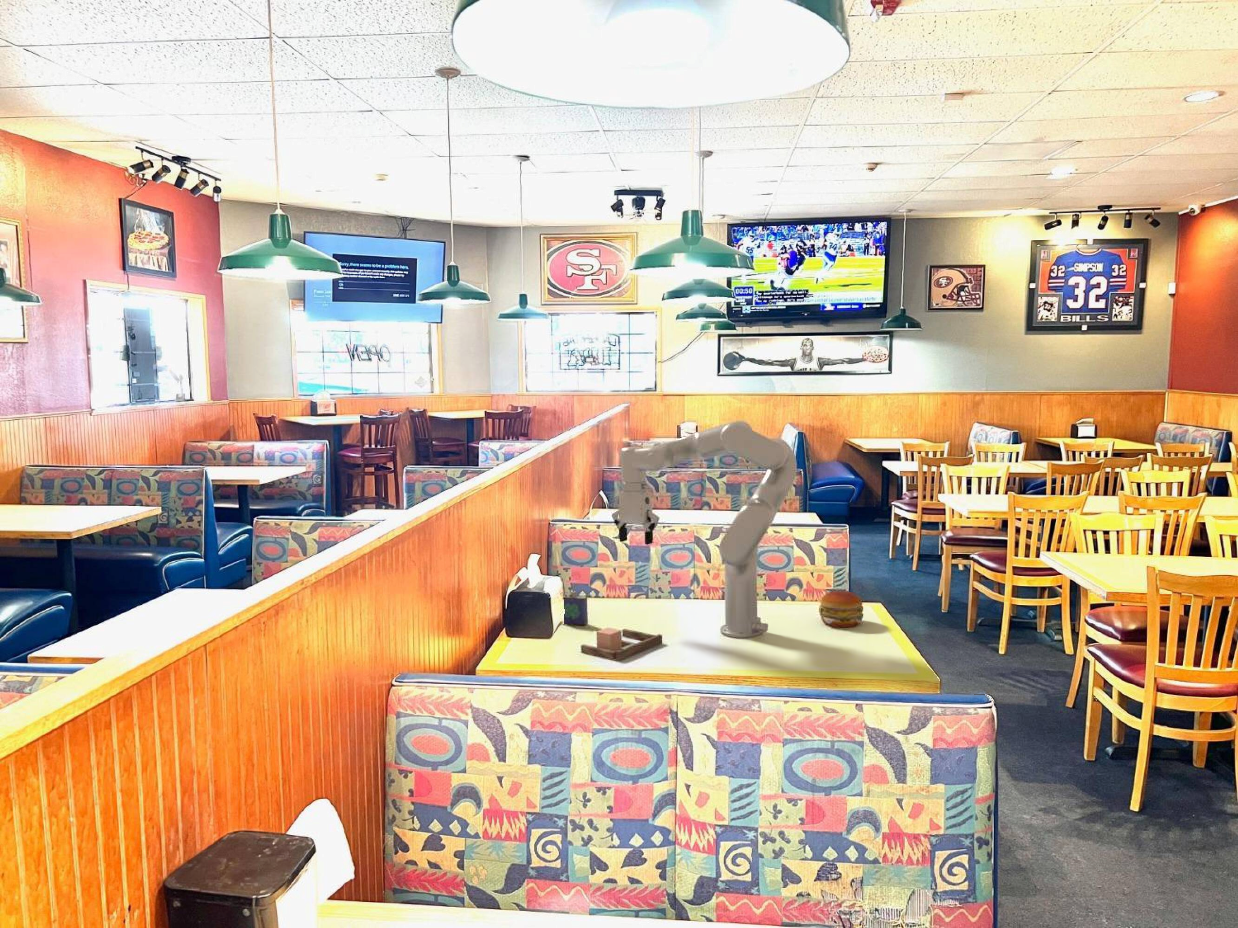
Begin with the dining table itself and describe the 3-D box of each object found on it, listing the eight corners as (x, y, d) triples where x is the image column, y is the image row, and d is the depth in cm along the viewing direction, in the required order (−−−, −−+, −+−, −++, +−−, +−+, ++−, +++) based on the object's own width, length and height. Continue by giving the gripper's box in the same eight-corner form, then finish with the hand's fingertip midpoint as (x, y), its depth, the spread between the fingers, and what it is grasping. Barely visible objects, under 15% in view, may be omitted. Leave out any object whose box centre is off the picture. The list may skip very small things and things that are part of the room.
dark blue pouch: (589, 624, 279) (588, 590, 278) (585, 626, 276) (584, 593, 275) (562, 621, 282) (561, 588, 281) (558, 624, 280) (557, 591, 279)
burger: (846, 632, 262) (846, 599, 261) (809, 623, 272) (809, 591, 271) (872, 623, 271) (872, 591, 270) (835, 614, 281) (835, 584, 280)
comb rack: (662, 643, 257) (662, 633, 257) (619, 661, 242) (618, 650, 242) (625, 635, 266) (624, 625, 265) (581, 652, 251) (580, 642, 251)
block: (621, 650, 251) (621, 630, 251) (610, 655, 247) (609, 634, 247) (608, 647, 254) (607, 627, 254) (597, 652, 251) (596, 631, 250)
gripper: (664, 486, 268) (666, 542, 270) (618, 484, 278) (621, 538, 280) (649, 490, 262) (652, 547, 264) (604, 487, 272) (606, 542, 274)
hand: (636, 542), depth 272 cm, fingers open, 9 cm apart
